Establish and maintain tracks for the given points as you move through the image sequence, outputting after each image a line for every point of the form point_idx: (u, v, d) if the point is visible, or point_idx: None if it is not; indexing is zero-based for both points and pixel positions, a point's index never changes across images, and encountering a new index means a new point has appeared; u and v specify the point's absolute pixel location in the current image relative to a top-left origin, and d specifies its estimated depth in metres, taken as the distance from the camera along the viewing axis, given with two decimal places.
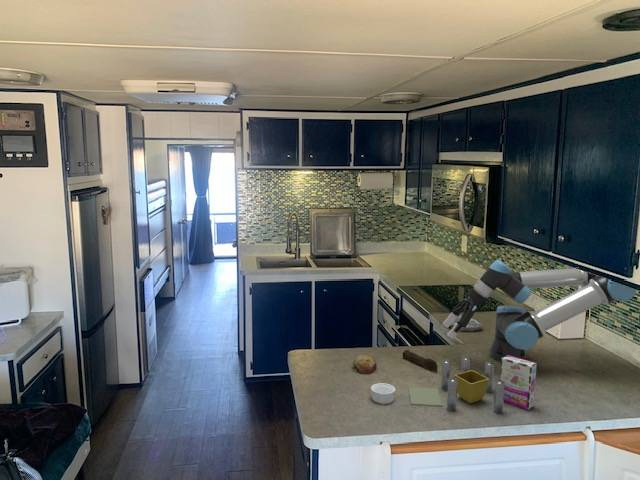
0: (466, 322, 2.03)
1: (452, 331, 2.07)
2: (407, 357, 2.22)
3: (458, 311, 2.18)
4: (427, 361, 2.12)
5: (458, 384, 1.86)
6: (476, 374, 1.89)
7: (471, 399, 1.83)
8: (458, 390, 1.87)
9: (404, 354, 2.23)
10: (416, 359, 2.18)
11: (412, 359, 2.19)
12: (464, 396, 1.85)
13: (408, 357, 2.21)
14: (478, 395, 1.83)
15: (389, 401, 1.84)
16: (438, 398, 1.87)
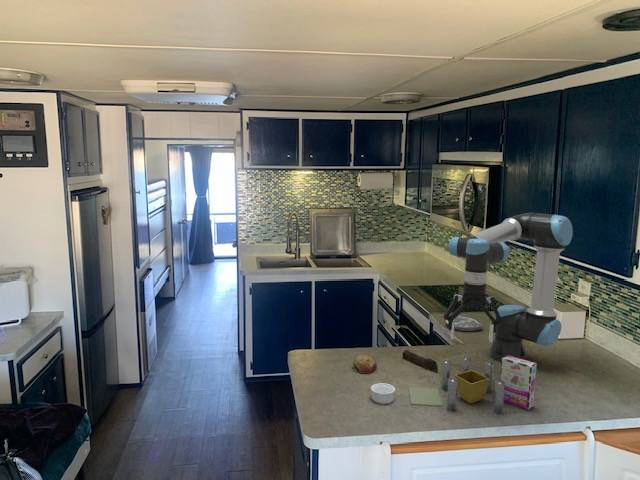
0: None
1: None
2: (407, 357, 2.22)
3: None
4: (427, 361, 2.12)
5: (458, 384, 1.86)
6: (476, 374, 1.89)
7: (471, 399, 1.83)
8: (458, 390, 1.87)
9: (404, 354, 2.23)
10: (416, 359, 2.18)
11: (412, 359, 2.19)
12: (464, 396, 1.85)
13: (408, 357, 2.21)
14: (478, 395, 1.83)
15: (389, 401, 1.84)
16: (438, 398, 1.87)
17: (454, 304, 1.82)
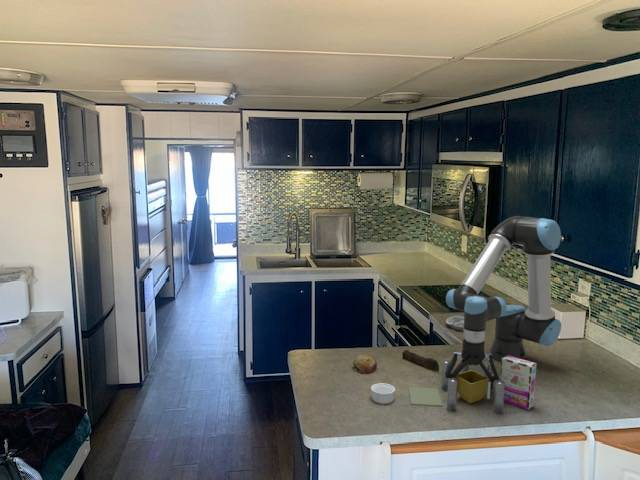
0: None
1: None
2: (407, 357, 2.22)
3: None
4: (428, 361, 2.13)
5: (458, 384, 1.86)
6: (476, 374, 1.89)
7: (471, 399, 1.83)
8: (458, 390, 1.87)
9: (404, 354, 2.23)
10: (417, 359, 2.18)
11: (412, 359, 2.19)
12: (464, 396, 1.85)
13: (408, 357, 2.21)
14: (478, 395, 1.83)
15: (389, 401, 1.84)
16: (438, 398, 1.87)
17: (454, 362, 1.84)
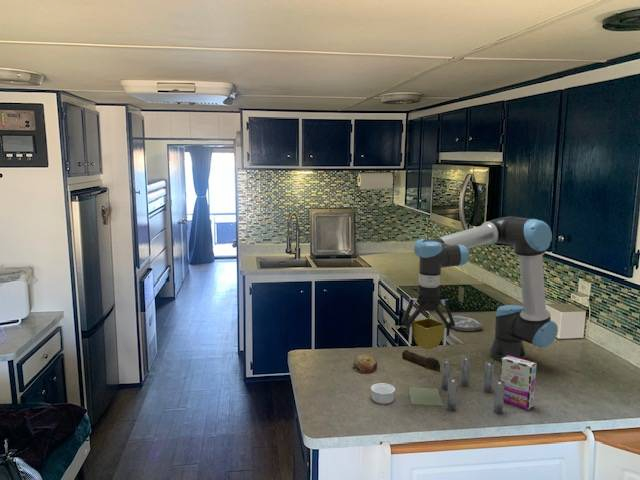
0: None
1: (445, 337, 1.83)
2: (407, 357, 2.22)
3: None
4: (429, 360, 2.13)
5: (414, 331, 1.85)
6: (433, 321, 1.87)
7: (427, 345, 1.81)
8: (415, 337, 1.85)
9: (404, 354, 2.23)
10: (417, 359, 2.18)
11: (413, 359, 2.20)
12: (420, 343, 1.83)
13: (408, 357, 2.21)
14: (434, 341, 1.82)
15: (389, 401, 1.84)
16: (438, 398, 1.87)
17: (410, 308, 1.82)
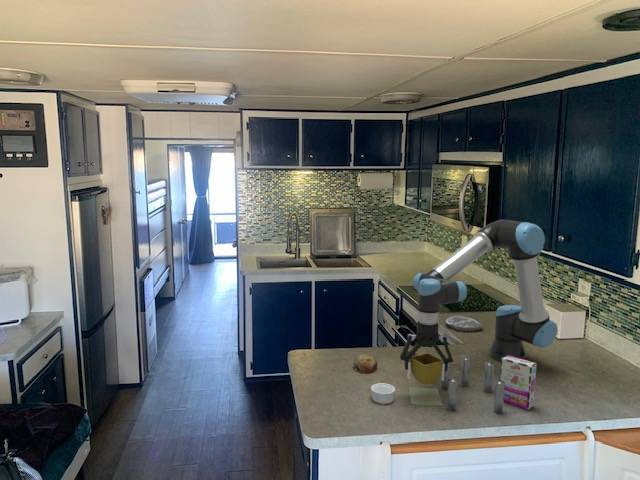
0: None
1: None
2: None
3: None
4: None
5: (413, 366, 1.87)
6: (431, 356, 1.89)
7: (425, 381, 1.83)
8: (413, 372, 1.88)
9: None
10: None
11: None
12: (419, 378, 1.85)
13: None
14: (432, 377, 1.84)
15: (389, 401, 1.84)
16: (438, 398, 1.87)
17: (408, 344, 1.85)
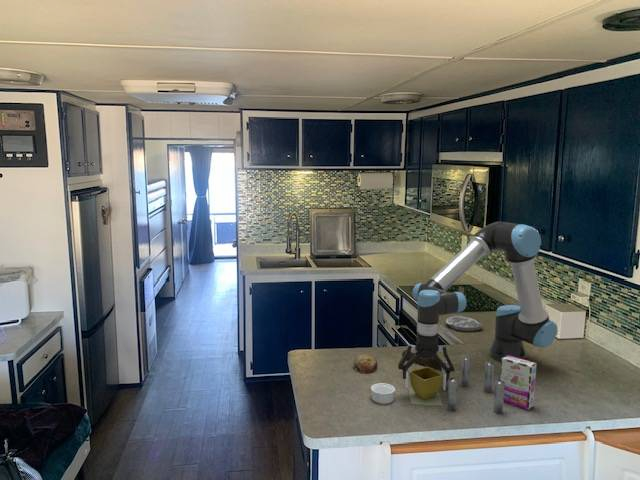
0: None
1: (445, 382, 1.86)
2: None
3: None
4: (431, 360, 2.14)
5: (412, 380, 1.88)
6: (431, 371, 1.90)
7: (424, 395, 1.84)
8: (413, 386, 1.89)
9: None
10: None
11: None
12: (418, 392, 1.87)
13: (408, 357, 2.21)
14: (431, 392, 1.85)
15: (389, 401, 1.84)
16: (438, 398, 1.87)
17: (407, 354, 1.85)
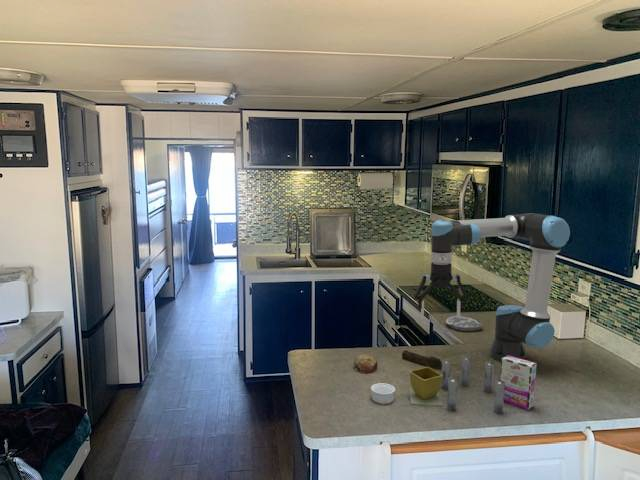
0: None
1: None
2: (407, 357, 2.22)
3: None
4: (431, 360, 2.14)
5: (412, 380, 1.88)
6: (431, 371, 1.90)
7: (424, 395, 1.84)
8: (413, 386, 1.89)
9: (404, 354, 2.23)
10: (418, 358, 2.18)
11: (413, 359, 2.20)
12: (418, 392, 1.87)
13: (408, 357, 2.21)
14: (431, 392, 1.85)
15: (389, 401, 1.84)
16: (438, 398, 1.87)
17: (423, 284, 1.92)
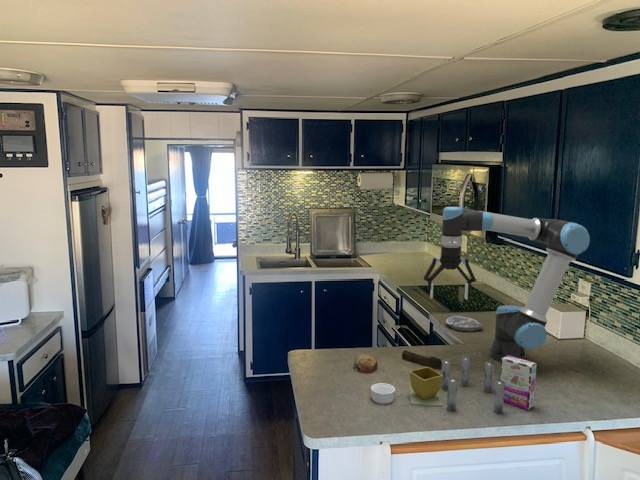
0: None
1: None
2: (407, 357, 2.22)
3: None
4: (432, 359, 2.14)
5: (412, 380, 1.88)
6: (431, 371, 1.90)
7: (424, 395, 1.84)
8: (413, 386, 1.89)
9: (404, 355, 2.23)
10: (418, 358, 2.18)
11: (413, 359, 2.20)
12: (418, 392, 1.87)
13: (408, 357, 2.21)
14: (431, 392, 1.85)
15: (389, 401, 1.84)
16: (438, 398, 1.87)
17: (433, 266, 2.02)
